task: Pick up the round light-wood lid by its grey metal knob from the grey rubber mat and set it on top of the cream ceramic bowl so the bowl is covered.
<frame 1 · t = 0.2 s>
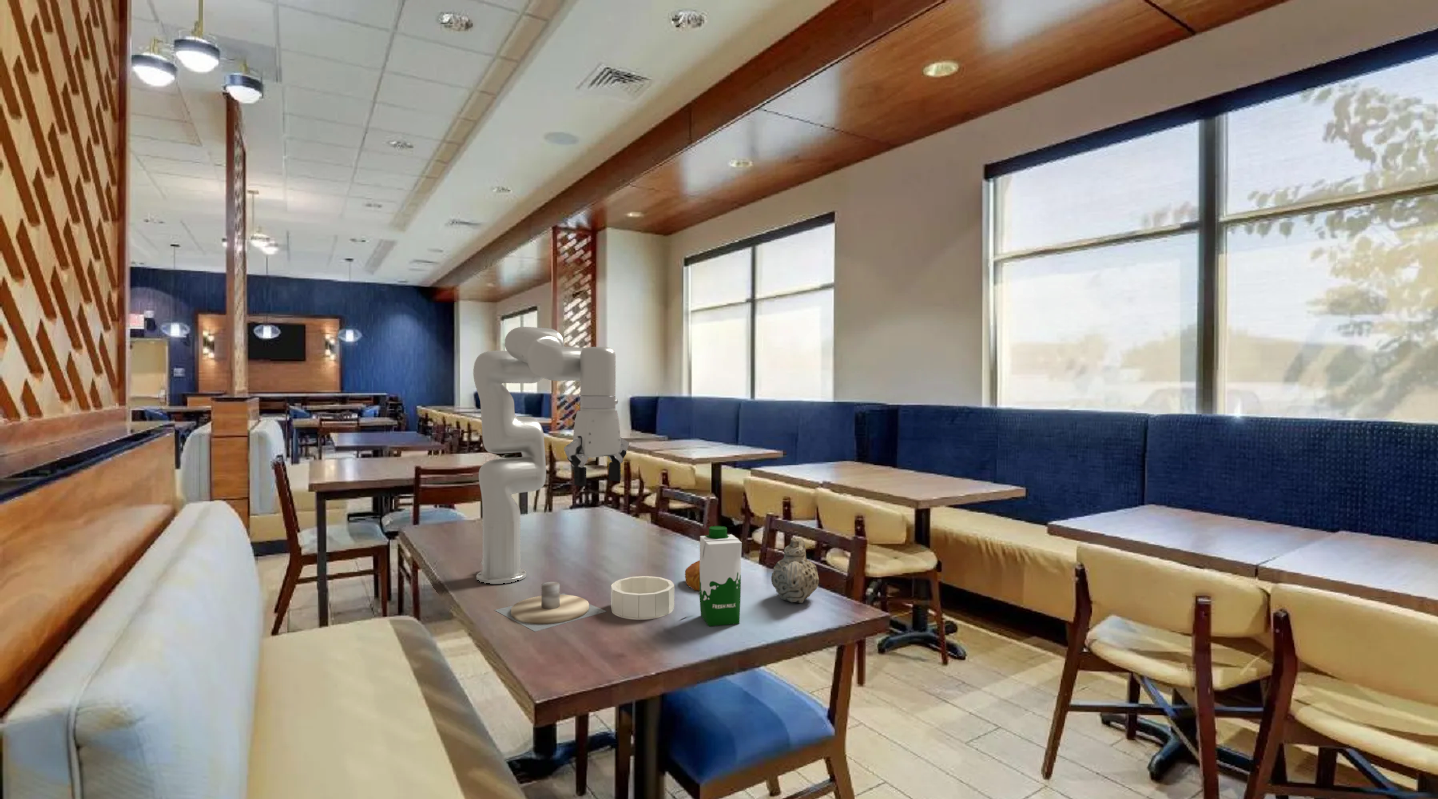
hand: (597, 483, 148), 30 cm above the table, tool pointing down, fingers open, 9 cm apart
mat: (550, 613, 154), on the table
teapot: (795, 599, 166), on the table
milk carton: (719, 620, 150), on the table
croissant: (712, 585, 177), on the table
lid: (550, 610, 154), point 1 cm above the table, touching mat
bowl: (642, 611, 156), on the table
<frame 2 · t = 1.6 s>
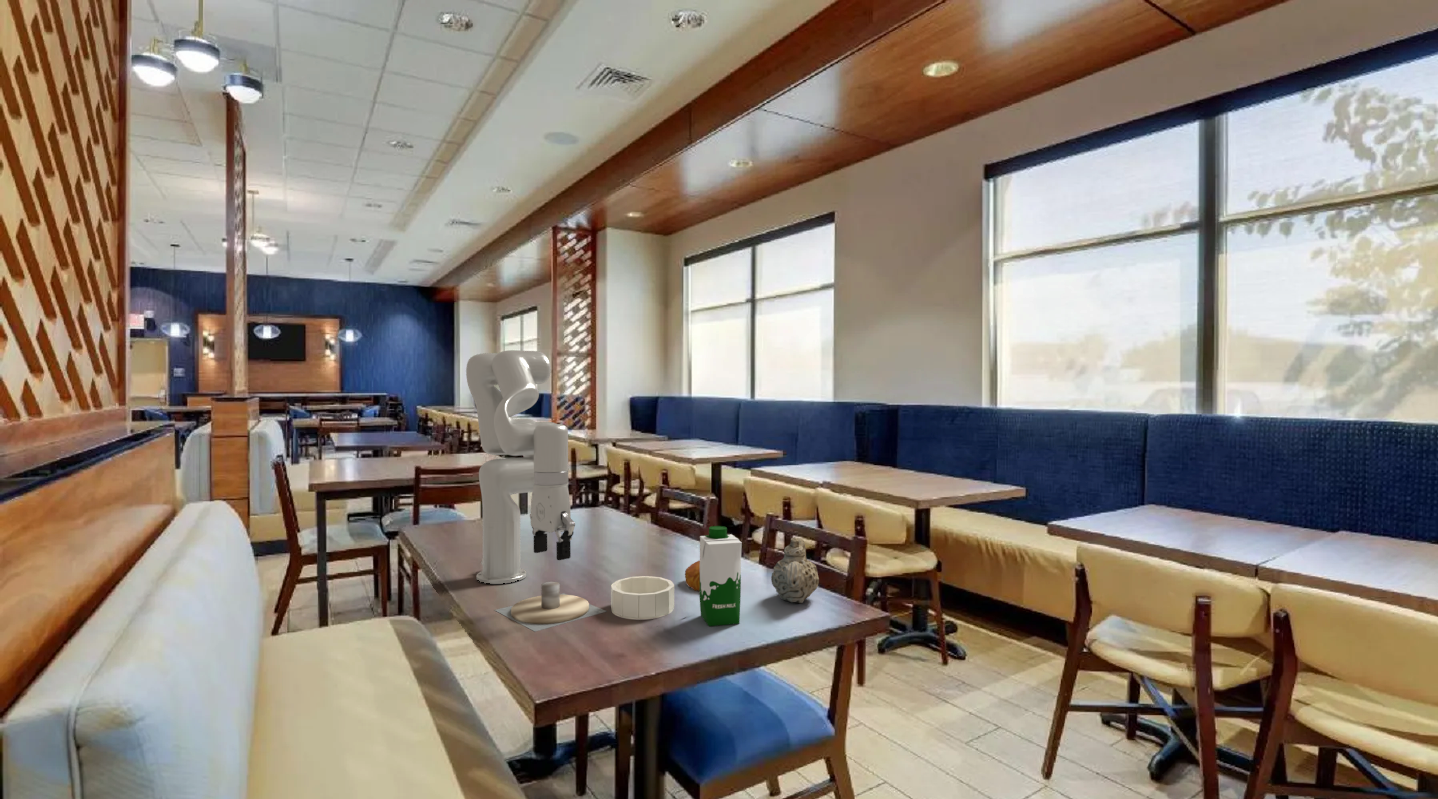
hand: (551, 555, 153), 13 cm above the table, tool pointing down, fingers open, 9 cm apart
nothing on the table moved.
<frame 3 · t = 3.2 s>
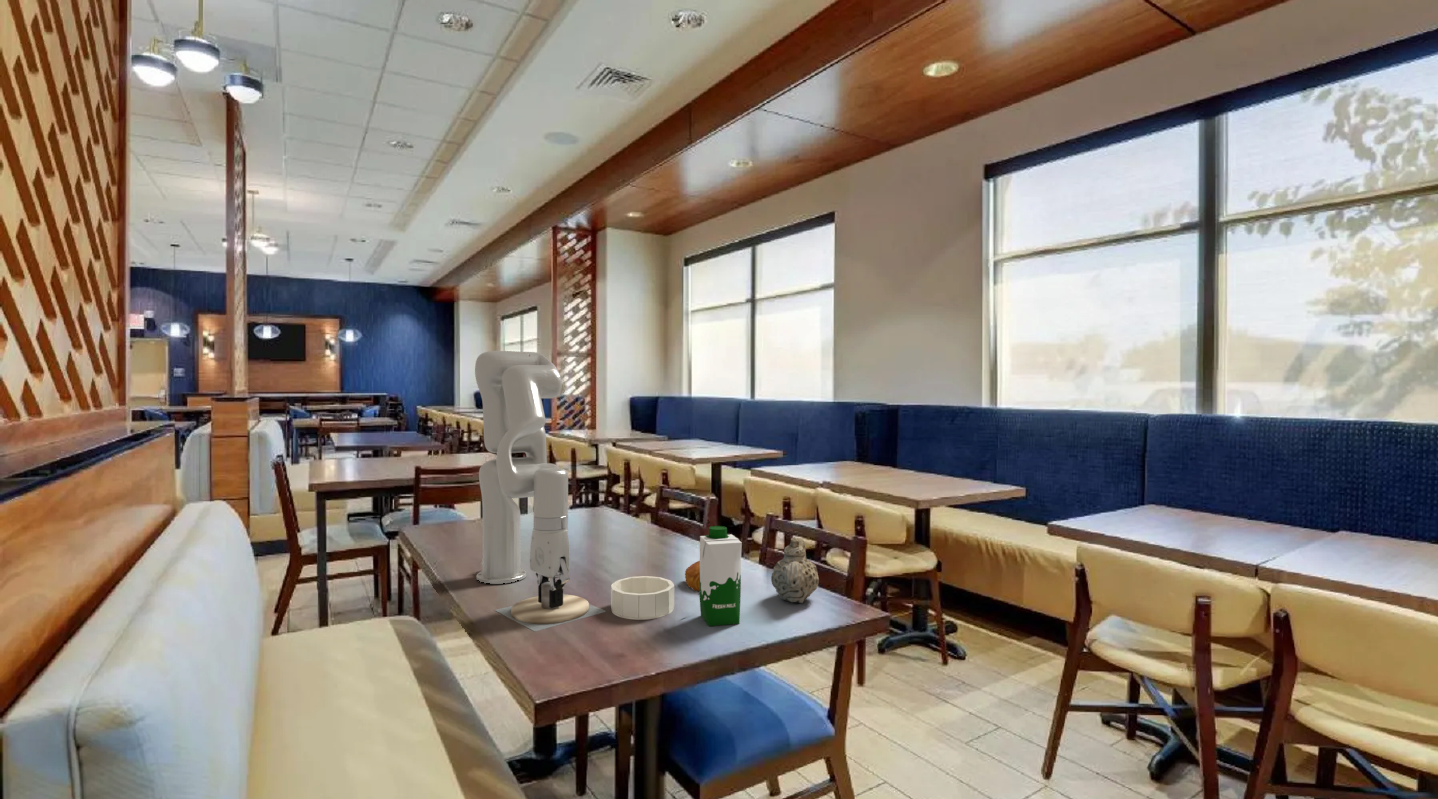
hand: (550, 603, 153), 2 cm above the table, tool pointing down, fingers closed on lid, 4 cm apart
lid: (550, 610, 154), point 1 cm above the table, touching gripper, mat
everything else where it was.
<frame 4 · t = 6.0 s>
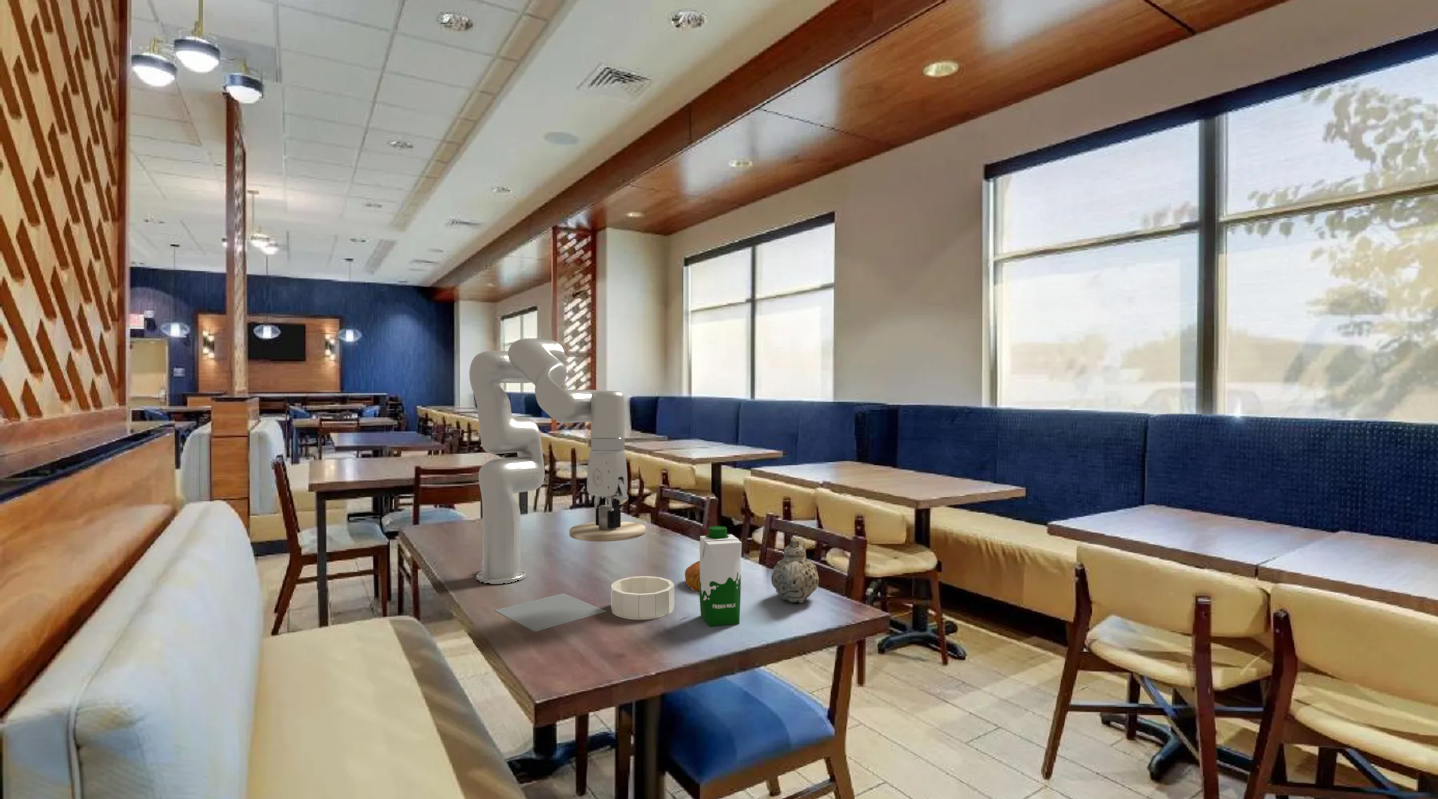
hand: (608, 525, 154), 20 cm above the table, tool pointing down, fingers closed on lid, 4 cm apart
lid: (607, 532, 154), point 18 cm above the table, touching gripper
everything else where it was.
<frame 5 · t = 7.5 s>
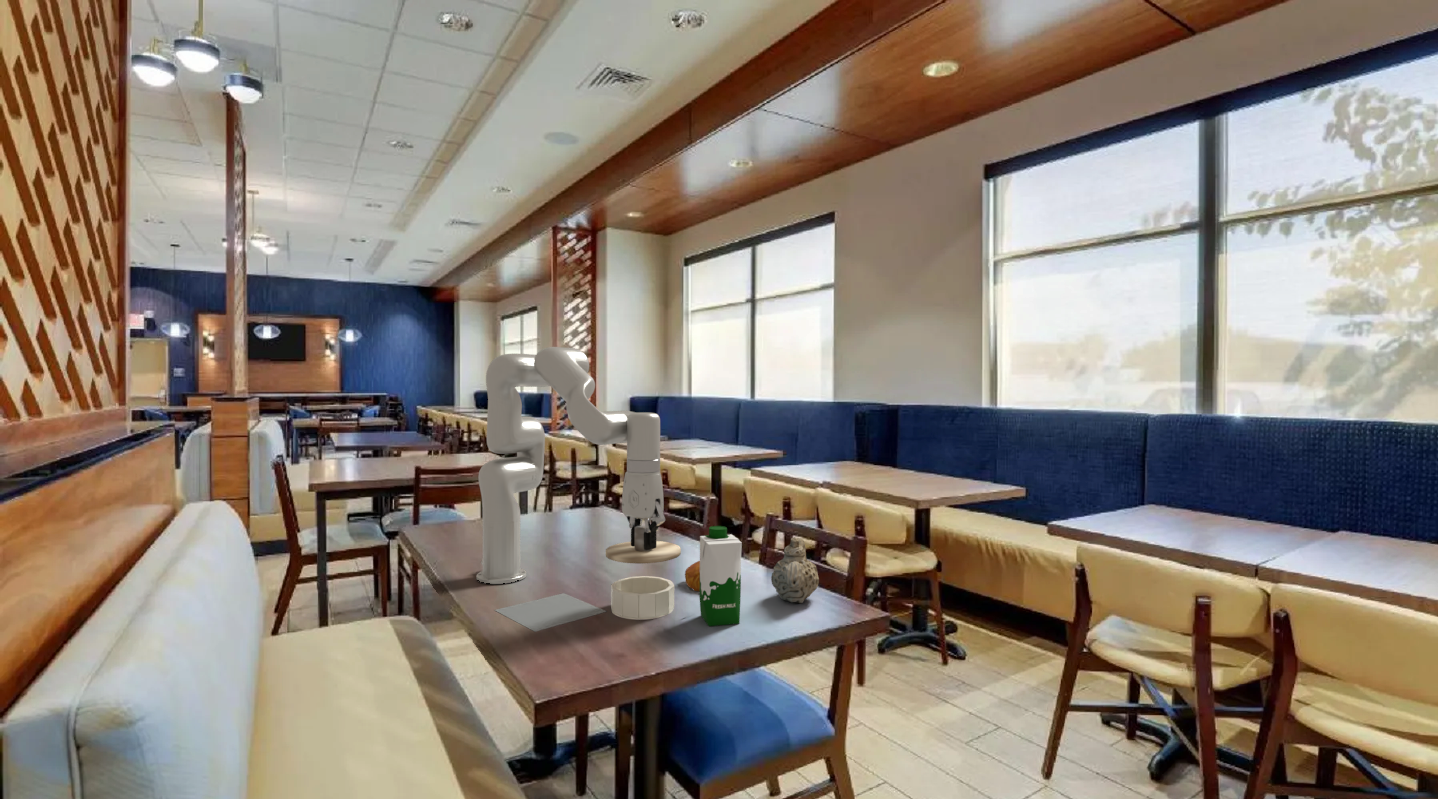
hand: (643, 546, 155), 15 cm above the table, tool pointing down, fingers closed on lid, 4 cm apart
lid: (643, 553, 155), point 13 cm above the table, touching gripper
everything else where it was.
when the fingers open (9 cm above the table, at t = 8.8 s): lid drops 2 cm, resting on bowl.
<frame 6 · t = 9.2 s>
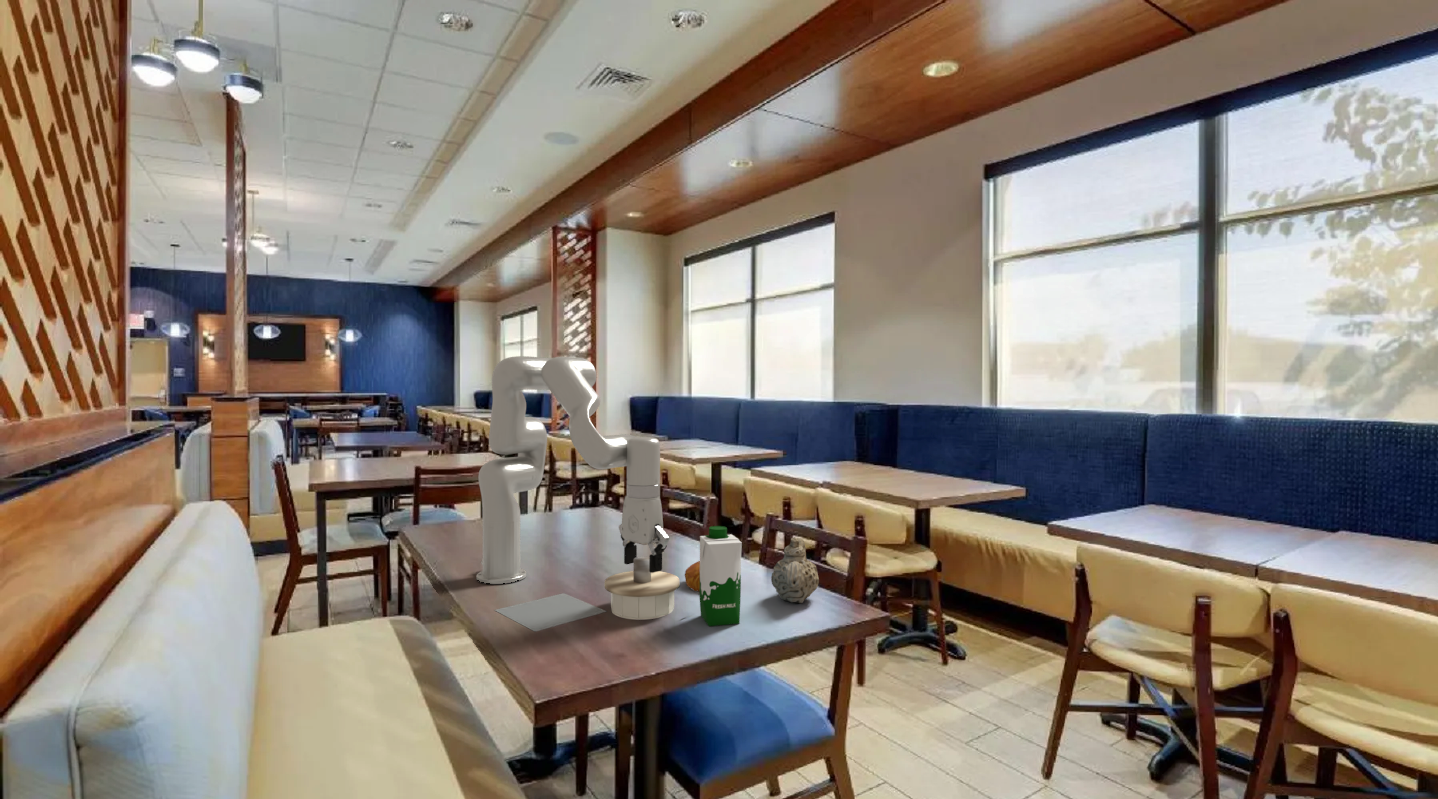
hand: (642, 567, 155), 10 cm above the table, tool pointing down, fingers open, 8 cm apart
lid: (642, 585, 155), point 6 cm above the table, touching bowl
everything else where it was.
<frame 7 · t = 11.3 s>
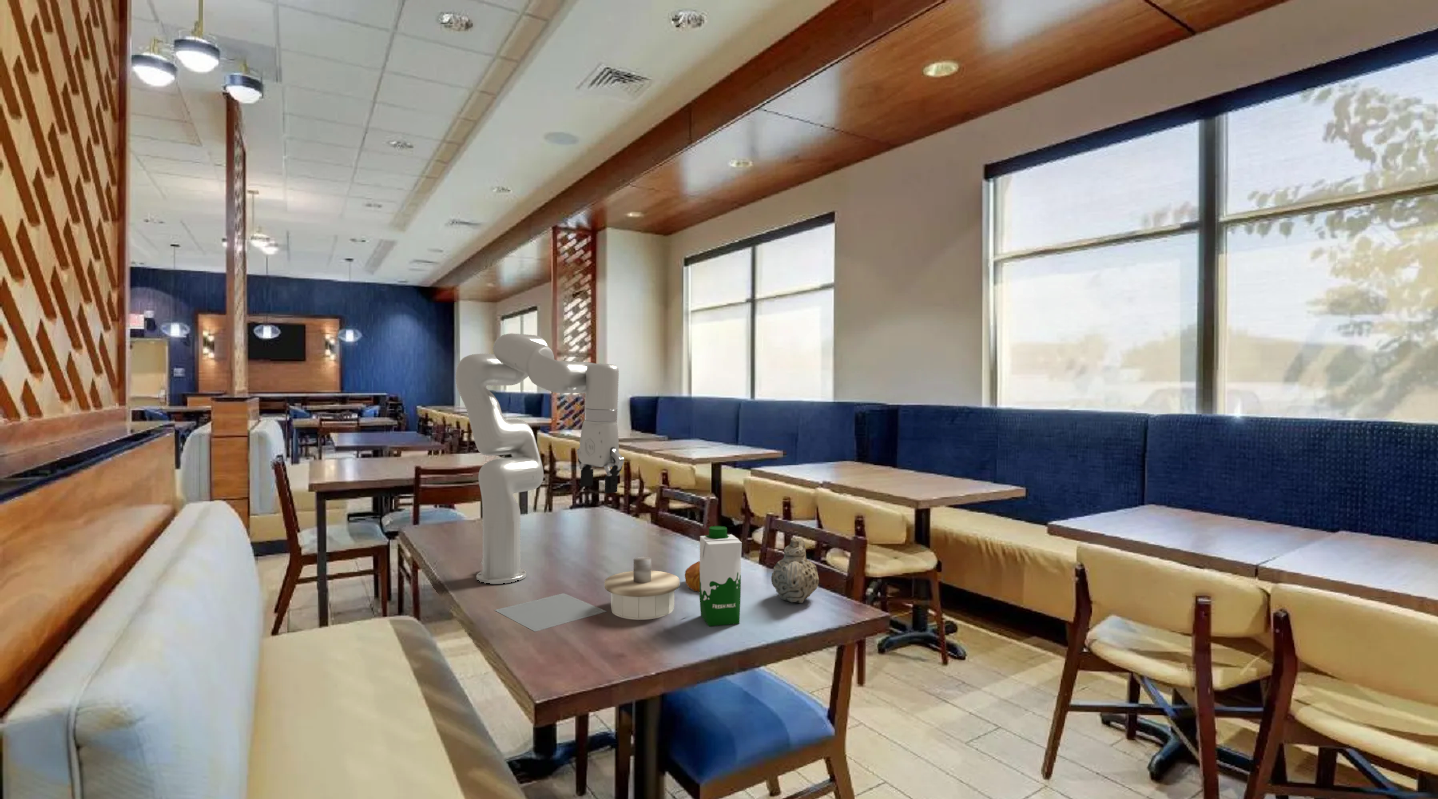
hand: (598, 489, 160), 27 cm above the table, tool pointing down, fingers open, 9 cm apart
nothing on the table moved.
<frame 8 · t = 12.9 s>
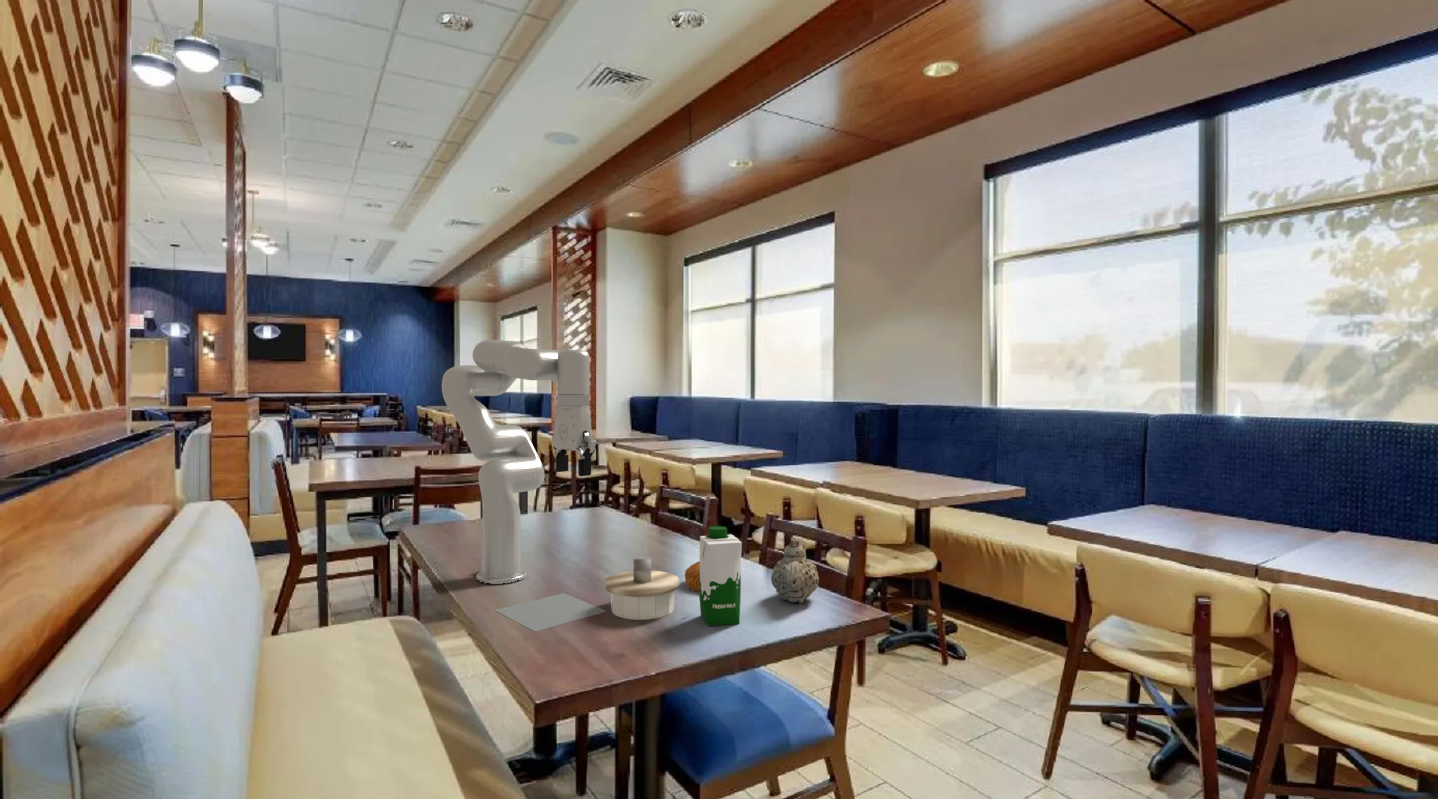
hand: (573, 473, 163), 30 cm above the table, tool pointing down, fingers open, 9 cm apart
nothing on the table moved.
at the end: lid 0.1 cm off-centre on the bowl, point 6.0 cm above the bowl's base; lid tilted 0°; the gripper is holding nothing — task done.
